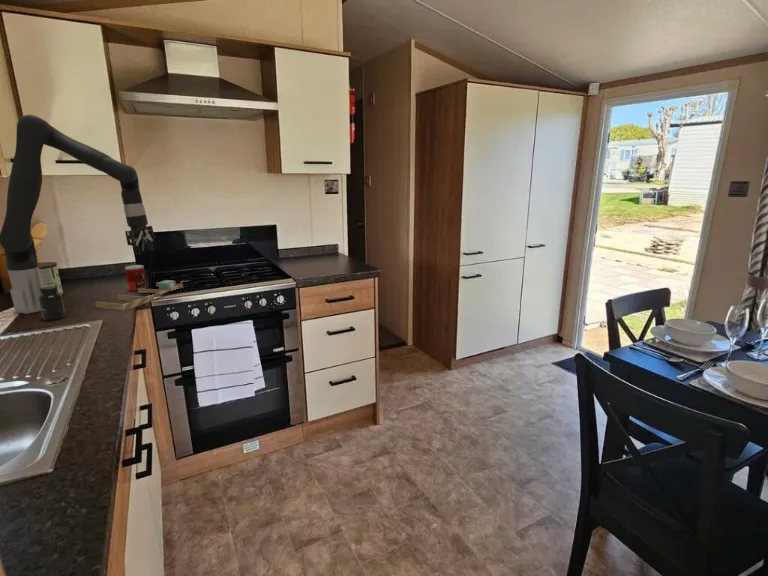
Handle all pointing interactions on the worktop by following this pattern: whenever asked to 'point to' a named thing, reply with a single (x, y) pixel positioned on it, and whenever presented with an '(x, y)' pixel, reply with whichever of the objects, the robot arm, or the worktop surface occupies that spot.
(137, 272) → the canned food
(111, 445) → the worktop surface
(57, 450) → the worktop surface
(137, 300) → the bay rack
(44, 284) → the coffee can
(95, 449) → the worktop surface
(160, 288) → the plain green block
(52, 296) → the supplement bottle
